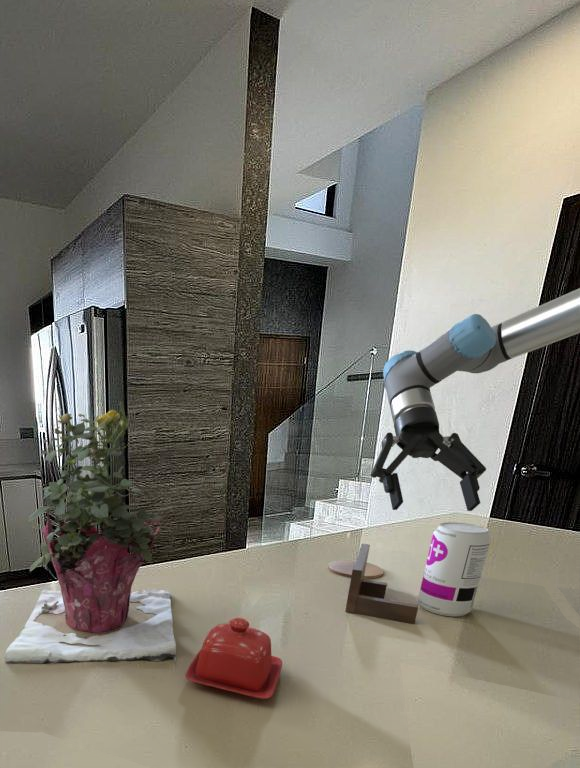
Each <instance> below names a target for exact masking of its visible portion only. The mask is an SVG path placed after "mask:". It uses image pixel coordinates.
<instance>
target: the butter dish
mask: <svg viewBox="0 0 580 768" xmlns="http://www.w3.org/2000/svg"><path fill="white" fill-rule="evenodd" d="M282 667H283V661H282V659H281V658H280V657H278V656H276V655H272V641H271V637H270V636H269V634H268V633H265V632H264V631H262V630H260V629H257V628H254V627H251V626H250V622H249V621H248V620H247V619H245V618H242V617H234V618H231V619H230V620H229V623H220V624H217V625H214V627H213V628H211V630H210V631H209V632H208V633H207V635H206V637H205V639H204V640H203V643H202V647H201V648H200V650H199V651H198V652H197V654H195V657H194V658H193V659H192V661H191V663H190V665H189V666H188V668H187V670H186V671H185V673H184V678H185V679H186V680H187V681H190V682H192V683H195V684H199V685H204V686H207V687H211V688H216V689H221V690H224V691H227V692H228V691H229V692H232V693H235V694H240V695H244V696H247V697H252V698H255V699H262V700H268V699H271V698H272V697H273V696H274V693H275V690H276V688H277V684H278V682H279V678H280V674H281V671H282Z"/></svg>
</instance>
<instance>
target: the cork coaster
mask: <svg viewBox="0 0 580 768" xmlns="http://www.w3.org/2000/svg"><path fill="white" fill-rule="evenodd" d="M355 561H356V559H355V560H354V559H338V560H333V561H331V562H329V563H328V566H327V569H328V570H329V571H330V572H332V573H334V574H336V575H339V576H342V577H346V578H351V576H352V570H353V567H354V564H355ZM383 574H384V570H383V568H381V567H380V566H378V565H376V564H374V563H370V562H367V564H366V569H365V575H364V579H366V580H372V579H377V578H380V577H381V576H382V577H383Z"/></svg>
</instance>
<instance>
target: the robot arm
mask: <svg viewBox="0 0 580 768" xmlns="http://www.w3.org/2000/svg"><path fill="white" fill-rule="evenodd" d="M578 334H580V287H579V288H577V289H575V290H572V291H570V292H568V293H566V294H563V295H560V296H559V297H556V298H555V299H552V300H549V301H548V302H544V303H542V304H541V305H538V306H536V307H533V308H531V309H529V310H527V311H524V312H522V313H520V314H518V315H516V316H513V317H510V318H509V319H506V320H504V321H502V322H500V323H498V324H496V325H492V326H491V324H490V323H489V322H488V321H487V319H485V317H483V316H482V315H481V314H479V313H473V314H470V315H469V316H467V317H466V318H464V319H463V320H461V321H459V322H457V323H455V324H454V325H453V326H452V327H451V328H449V329H448V330H447V331H445V332H444V333H442V334H441V335H440V336H438V338H436V339H434V340H433V341H431V342H430V343H429V344H428V345H426V346H424V347H423V348H422V349H420V350H419V351H415V350H409V349H408V350H403V351H402V352H400V353H396V354H394V355H393V356H391V357H390V358H389V359H388V360H387V361H386V363H385V365H384V367H383V370H382V374H383V375H382V376H383V386H384V389H385V392H386V396H387V400H388V404H389V409H390V414H391V419H392V423H393V428H394V434H395V435H394V434H393V433H392V432H391V431H390V432H387V433H386V434H385V436H384V437H383V439H382V441H381V450H380V453H379V454H378V457H377V459H376V461H375V464H374V466H373V468H372V471H371V472H370V477H371V478H373V479H375V478H379V479H378V482H379V483H380V484H383V485H382V486H383V490H384V492H385V493H386V494H388V495H389V500H390V504H391V509H392V511H397V510H398V509H399V508H400V507H401V505H403V503H404V498H403V494H402V489H401V484H400V479H399V475H398V472H395V471H396V470H397V468H398V467H399V466H400V465H401V464H402V462H404V461H405V459H406V458H407V457H408V456H409V457H411V458H412V459H419V458H422V459H431V460H433V461H434V462H438V463H440V464H441V465H443V466H444V467H445V468H447V469H448V470H450V471H451V472H452V473H454V475H456V476H457V477H459V478H460V479H461V480H460V481H459V485H460V488H461V492H462V496H463V499H464V503H465V507H466V511H467V512H473V510H475V508H477V507H478V506H479V505H480V504H481V500H480V497H479V496H480V495H479V493H478V492H479V491H480V489H481V488H480V483H479V480H478V479H479V478H480V477H481V476H482V475H483V474H484V473H485V472H486V471H487V467H486V466H485V465H484V464H483V463H482V461H480V460H479V459H478V458H477V456H475V454H473V452H472V451H471V450H470V449H469V448H468V447H467V446H466V445H465V444H464V443H463V442H462V440H461V437H460V436H459V434H458V433H457V432H453V433H451V434H450V435H449V436H448V435H447V436H443V435H442V434H441V432H440V423H439V419H438V415H437V412H436V406H435V403H434V400H433V396H432V393H431V388H432V387H434V386H435V385H437V384H439V383H440V382H442V381H444V380H445V379H446V378H448V377H449V376H452V375H453V374H455V373H456V372H466V373H470V374H481V373H486V372H490V371H491V370H493V369H495V368H496V367H497V366H499V365H500V364H502V363H505V362H507V361H510V360H512V359H514V358H516V357H520V356H522V355H525V354H528V353H531V352H533V351H536V350H538V349H540V348H543V347H546V346H549V345H551V344H553V343H556V342H559V341H562V340H564V339H567V338H570V337H572V336H575V335H578ZM395 445H396V446H397V447H398V448H399V449H400V450H401V451H400V453H398V455H397V456H396V457H395V458H394V459H393V461H392V462H391V463H390V464H389V465H388V467H386V468H385V467H384V465H385V462H386V461H387V459H388V456H389V455H390V452H391V449H392V448H393V447H395ZM438 450H439V451H438ZM437 451H438V453H436V452H437Z"/></svg>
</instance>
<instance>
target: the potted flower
mask: <svg viewBox="0 0 580 768" xmlns="http://www.w3.org/2000/svg"><path fill="white" fill-rule="evenodd" d="M118 405H119V410H118V412H117V410H115V409H110V410H109V411H107V412H106V413H104V414H101V416H99V415H98V414H97V415H96V417H95V418H94V420H93V422H91V421H90V420H89V419H88V418H86V416H85V414H81V413H78V417H79V418H81V419H80V421H81V423H77V424H75V425H74V424H72V422H71V420H73V416H72V415H73V414H72V413H65V414H63V415H61V410H60V408H59V407H57V409H58V411H59V415H58V418H59V420H58V421H57V423H59V424H61V430H60V426H57V427H55V426H56V424H54V425H52V428H54V434H55V435H58V436H59V438H58V437H53V438H50V440H51V441H50V442H49V443H48V446H47V448H48V450H49V452H48V451H46V450H44V449H43V450H41V449H40V452H41V453H40V456H41V458H42V457H44V455H45V454H46V456H45V458H44V459H45V461H49V462H50V463H52V461H53V459H55V457H56V456H57V453H59V455H58V457H59V458H61V457H62V455H63V453H65V452H66V453H67V455H66V457H65V462H64V463H63V464H62V465H63V466H62V465H61V466H59V467H58V468H59V470H58V472H60V473H61V478H60V479H58V481H50V482H48V486H45V487H44V488H42V491H44V492H43V495H44V497H43V498H42V500H45V499H46V498H48V497H49V500H50V503H52V505H53V506H48V505H46V506H45V505H44V506H40V507H38V508H37V509H36V510H35V511H34V512H32V513H31V515H29V516H28V524H30V523H31V522H33V521H34V520H36V519H37V518H39V517H40V516H42V515H43V514H44V513H45V512H46V513H47V515H46V516H47V518H46V519H47V520H46V521H47V522H46V523H45V524H46V525H45V526H44V528H43V529H42V534H43V537H44V541H45V543H44V542H41V543H40V551H41V554H42V556H40V557H39V558H38V559H36V560H35V561H34V562H33V563H32V564H31V565H30V568H29V572H32V571H33V570H35V569H36V568H37V567H38V565H39V564H41V563H43V564H44V565H47V564H48V563H49V562H50V561H51V563H52V566H53V568H54V570H55V573H56V577H57V581H58V585H59V586H60V587H59V588H60V590H51V589H50V590H49V589H42V590H41V593H40V595H39V597H38V599H37V601H36V603H35V606H34V609H33V610H32V611H31V614H30V616H29V618H28V619H27V621H26V622H25V625H24V626H23V628H24V629H22V630H21V631H20V633H19V635H18V636H17V637H15V638H14V640H13V642H11V643H10V644H9V646H8V647H7V649H6V650H5V652H4V663H6V664H45V663H47V662H52V663H53V664H57V663H73V662H79V663H81V662H82V661H83V662H86V661H87V662H88V661H89V662H94V661H95V662H102V661H106V662H110V661H111V662H114V661H115V662H116V661H117V662H118V661H119V660H120V661H121V660H123V661H134V660H135V661H136V660H146V661H149V662H163V661H165V660H167V659H169V658H170V659H171V658H172V659H173V660H174V663H175V664H177V657H176V654H177V653H176V652H177V651H176V650H177V647H176V646H177V643H176V639H175V635H174V624H173V623H174V618H173V614H172V603H171V602H172V601H171V592H170V589H169V590H168V589H162V590H160V589H153V588H149V589H144V590H137V591H133V592H132V586H133V583H134V581H135V578H136V575H137V573H138V572H139V570H140V568H141V566H142V565H143V563H144V561H146V562H149V563H151V561H152V558H153V554H152V552H151V551H150V550H151V548H152V546H153V544H154V542H155V538H156V535H157V534H158V532H159V531H160V530H161V525H163V522H161V521H164V518H165V517H166V515H163V512H161V514H160V513H159V511H157V512H155V513H149V514H148V513H147V511H146V510H145V509H143V508H140V509H138V511H137V513H136V512H129V509H130V510H135V508H134V507H133V506H131V505H129V504H126V503H125V502H124V501H122V498H125V497H129V496H130V495H131V494H145V495H147V496H150V497H152V498H155V496H154V495H152V494H150V493H149V491H146V490H145V491H141V489H140V488H135V487H133V482H132V481H130V480H128V479H126V478H123V473H122V469H123V468H124V465H121V464H122V462H121V461H120V460H119V461H118V460H115V461H112V460H111V461H109V460H110V456H121V455H123V451H121V449H125V448H126V447H127V446H129V445H131V442H129V443H128V444H127V445H126V443H124V442H122V444H123V445H124V446H123V447H121V446H120V444H119V443H120V441H119V438H121V437H124V435H126V430H127V429H128V428H129V426H130V421H129V419H128V417H127V416H126V412H125V406H124V403H123V401H120V402H119V403H118ZM121 415H122V416H121ZM82 417H83V419H82ZM119 419H120V420H119ZM118 420H119V422H117V421H118ZM85 423H87V424H88V423H89V424H91V425H92V426H88V427H86V425H85ZM94 423H96V424H97V427H96V425H94ZM111 429H112V430H111ZM65 431H66V432H67V433H65V434H64V432H65ZM94 431H95V432H94ZM101 431H102V432H105V434H102V433H101ZM96 432H97V433H96ZM70 433H71V434H70ZM116 433H117V437H116V435H115V434H116ZM69 434H70V435H69ZM95 434H96V435H99V437H98V439H97V436H96V437H95ZM133 434H134V432H131V435H133ZM115 437H116V438H115ZM113 438H115V439H114V440H113ZM60 439H61V440H60ZM79 439H80V442H81V443H80V442H79ZM148 439H150V440H151V441H155V440H156V439H155V438H154V437H152V436H149V437H148ZM59 440H60V443H61V444H56V445H55V447H56V448H58V449H56V450H53V448H54V445H53V442H55V441H57V442H58V441H59ZM83 440H86V441H89V442H88V444H85V445H83V443H84V442H83ZM104 440H105V441H104ZM73 441H76V443H77V444H80V445H79V446H77V447H75V448H74V449H73V450H72V448H73V447H74V445H73V444H72V443H73ZM42 442H43V443H44V444H46V443H47V442H48V439H43V440H42ZM68 442H69V443H71V446H70V449H69V446H68V445H66V444H67V443H68ZM100 443H101V444H100ZM108 444H111V445H112V444H113V445H112V446H111V447H108ZM63 445H64V447H63ZM116 445H117V446H116ZM125 445H126V446H125ZM69 451H70V452H71V453H70V452H69ZM69 457H70V458H69ZM86 458H89V459H90V460H91V461H92V462H93V465H84V466H83V465H80V466H77V465H76V464H77V461H79V462H83V461H84V460H85V459H86ZM100 463H101V464H102V465H99V464H100ZM112 464H115V465H121V466H120V467H119V469H118V472H117V471H113V472H112V475H110V474H109V469H110V467H109V466H111V465H112ZM65 466H66V467H65ZM69 466H70V469H68V468H69ZM96 466H97V467H96ZM64 467H65V469H64V470H63V469H62V468H64ZM83 471H89V472H90V473H92V474H93V476H94V477H91V475H89V473H87V474H85V475H84V476H82V475H81V474H82V473H83ZM67 476H68V477H67ZM69 477H70V478H71V479H72V480H71V479H70V478H69ZM141 477H142V475H139V474H138V475H133V476H132V478H133V479H135V478H141ZM112 478H118V479H121V482H119V483H117V484H115V485H113V484H112V482H114V479H112ZM75 479H76V480H75ZM64 481H67V483H64ZM136 484H140V482H139V481H138V482H136ZM131 487H133V488H131ZM129 488H131V489H129ZM68 489H69V490H70V492H69V493H68V494H65V493H66V492H67V491H68ZM115 490H119V491H121V490H127V491H128V492H129V493H128V494H121V493H120V492H116V494H115V493H114V492H115ZM89 492H90V493H89ZM113 493H114V494H113ZM65 500H67V503H66V502H65ZM69 507H71V509H70V510H67V511H66V509H69ZM51 509H53V510H54V519H52V520H51V517H50V513H49V512H50V510H51ZM109 513H110V514H109ZM161 515H163V516H161ZM152 516H153V517H154V518H151V517H152ZM59 517H60V518H59ZM62 520H66V521H69V522H68V523H67V522H65V521H64V522H63V521H62ZM56 523H57V525H58V526H57V527H56V528H55V529H53V525H54V524H56ZM150 523H151V524H150ZM43 524H44V522H42V523H39V524H37V525H35V526H31V528H30V530H37V531H40V530H41V525H43ZM52 524H53V525H52ZM154 524H156V525H159V526H157V527H156V529H154V528H152V527H153V526H154ZM97 525H99V528H100V532H99V531H98V530H97V528H96V526H97ZM77 530H78V531H77ZM154 531H155V532H154ZM152 532H153V533H152ZM55 535H57V537H56V538H54V536H55ZM130 546H131V547H133V548H130ZM129 549H130V552H129V551H128V550H129ZM130 603H140V604H142V605H138V606H135V610H140V611H142V612H143V613H144V614H153V615H154V616H152V617H150V618H149V619H147V620H145V621H142V622H140V623H137V624H134V625H131V626H128V627H123V628H121V629H119V630H115V629H117V627H122V626H123V625H124V623H125V621H127V619H128V616H129V611H130ZM64 612H65V615H64V616H65V624H67V625H68V626H69V627H70V628H72V629H74V630H77V631H81V632H87V633H94V634H95V633H96V634H98V633H101V632H102V633H103V632H107V631H108V630H110V631H111V630H112V632H109V633H107V634H102V635H92V636H90V637H88V636H85V637H83V638H82V637H78V636H77V633H74V632H69V633H65V632H61V631H59V630H57V629H56V628H55V627H53V626H51V625H47V624H45V625H44V623H42V622H37V621H35V620H36V619H37V617H39V616H40V614H45V613H47V614H52V613H53V614H54V615H60V614H62V613H64ZM113 630H114V631H113ZM75 644H83V645H85V646H82V645H81V646H80V645H75Z"/></svg>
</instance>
